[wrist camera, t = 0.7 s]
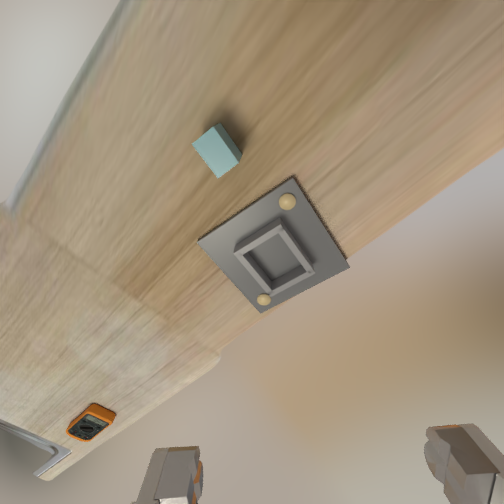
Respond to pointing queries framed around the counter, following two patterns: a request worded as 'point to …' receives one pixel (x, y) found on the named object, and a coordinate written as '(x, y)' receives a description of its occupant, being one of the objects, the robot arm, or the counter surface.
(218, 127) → the block
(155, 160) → the counter surface
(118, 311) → the counter surface
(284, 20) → the counter surface
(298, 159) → the counter surface
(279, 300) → the housing
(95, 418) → the multimeter
